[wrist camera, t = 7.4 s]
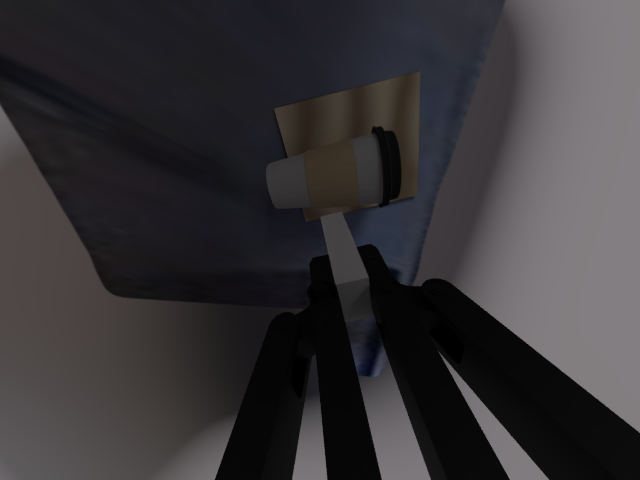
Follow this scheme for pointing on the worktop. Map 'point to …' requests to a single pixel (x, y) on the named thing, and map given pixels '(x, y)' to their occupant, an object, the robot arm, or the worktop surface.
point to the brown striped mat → (357, 126)
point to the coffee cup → (339, 174)
